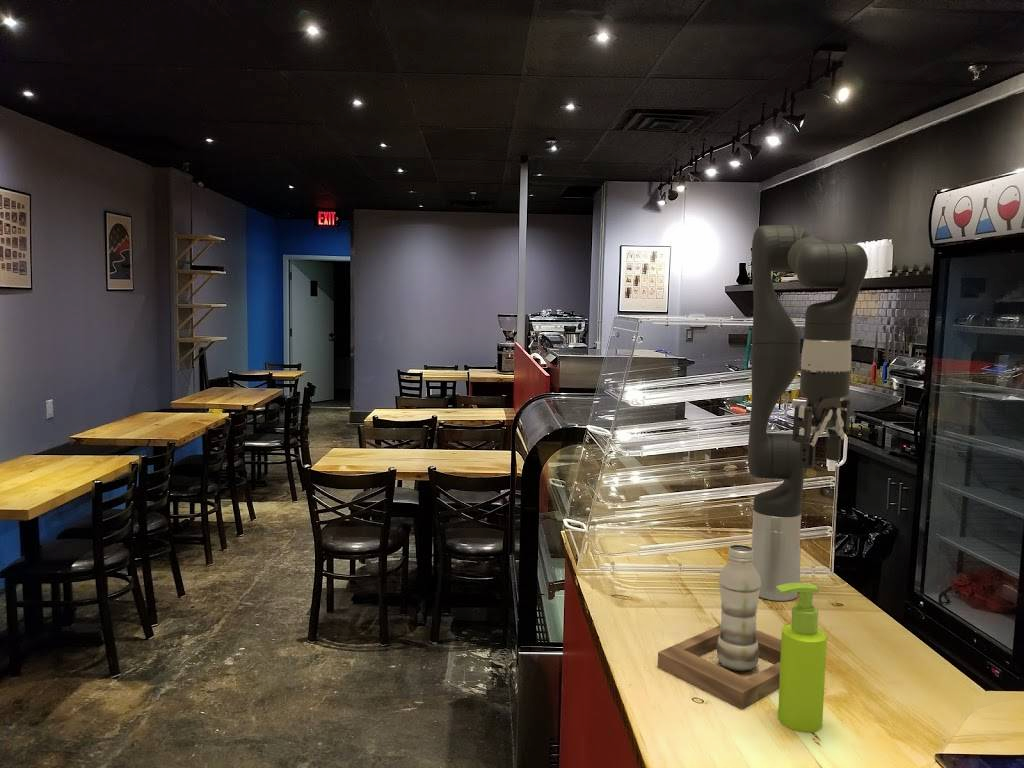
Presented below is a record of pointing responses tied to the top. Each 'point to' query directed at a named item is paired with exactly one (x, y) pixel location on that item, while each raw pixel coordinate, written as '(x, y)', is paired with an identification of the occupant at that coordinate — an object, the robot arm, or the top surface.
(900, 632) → the top surface
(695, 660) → the brown wooden picture frame
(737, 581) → the plastic bottle
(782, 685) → the soap dispenser
